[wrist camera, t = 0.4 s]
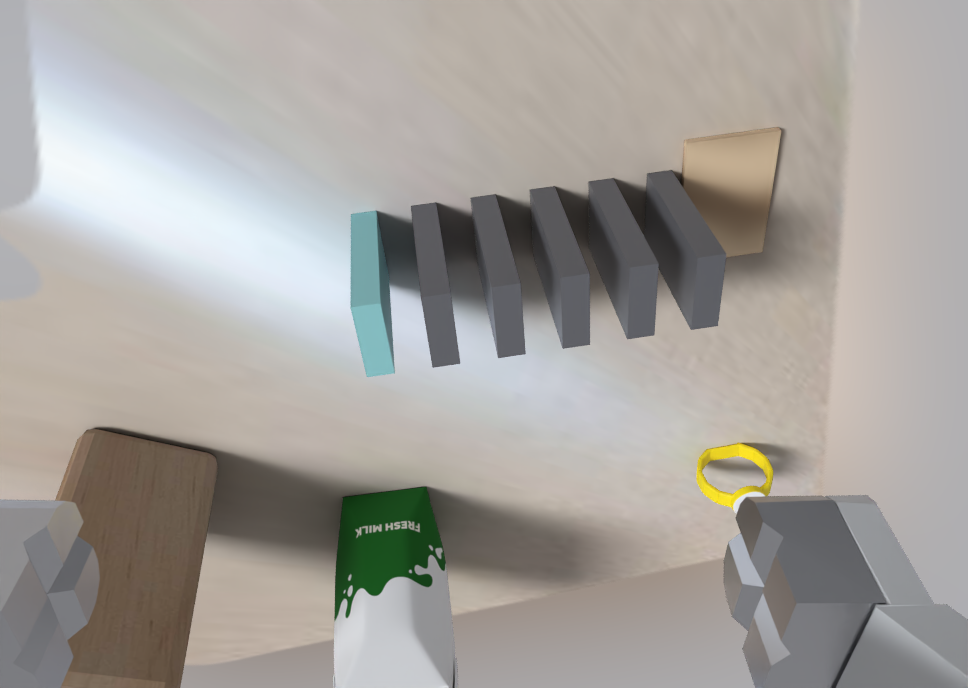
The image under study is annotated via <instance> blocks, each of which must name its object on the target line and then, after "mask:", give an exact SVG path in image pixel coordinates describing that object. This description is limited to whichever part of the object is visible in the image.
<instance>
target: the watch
mask: <svg viewBox="0 0 968 688" xmlns="http://www.w3.org/2000/svg"><path fill="white" fill-rule="evenodd" d="M735 456H740V457H743V458H746V459H749V460H752V461H753V462H755V463H756V464H757V465H758V466H759V467H760V468H762V469H763V471H764V473H765V476H766V478H767V480H766V483H765V484H764V485H762V486H761V487H760V488H759V487H757V486H746V487H743V488H741V489H739V490H737V491H736V492H735V493H734V494H731V493H727V492H722V491H719V490H718V489H716V488H715V487H714V486H712V485H711V484H709V483H708V482H707V480H706V479H705V477H704V475H703V473H702V469H703V468H704V467H705V466H706V465H707V464H708V463H709V461H713V460H718V459H724V458H730V457H735ZM772 480H773V469H772V466H771V464H770V461H769V459H767V457H766V456H765V455H763V454H762V453H761V452H760V451H758V450H757V449H755V448H753V447H750V446H747V445H744V444H741V443H737V444H733V445H728V446H723V447H718V448H712V449H707V450H706V451H705V452H704V453H703V454H702V455H701V456H700V457H699V460H698V466H697V483H698V485H699V487H700V489H701V491H702V492H703V493H704V495H706V496H707V497H708V498H710V499H711V500H713V501H714V502H715V503H718V504H720V505H725V506H729V507H732V509H733V511H734V512H736V513H737V512H738V509H739V506H740V503H741V502H742V501H743V500H744V499H745V498H746V497H763V496H768V494H769V493H770V489H771V485H772Z"/></svg>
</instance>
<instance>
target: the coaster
mask: <svg viewBox="0 0 968 688" xmlns="http://www.w3.org/2000/svg"><path fill="white" fill-rule="evenodd" d="M780 136H781V130H780V129H779V128H778V127H776V128H769V129H761V130H754V131H747V132H739V133H732V134H725V135H717V136H710V137H702V138H695V139H688V140H685V141H684V154H683V168H682V181H681V185H682V187H683V188H684V190H685V191H686V193H687V194H688V196H689V198H690V199H691V201H692V202H693V204H694V205H695V207H696V208H697V210H698V211H699V213H700V214H701V216H702V217H703V219H704V220H705V222H706V223H707V225H708V226H709V228H710V230H711V231H712V233H713V234H714V236H715V237H716V239H717V240H718V242H719V243H720V245H721V246H722V248H723V249H724V251H725V252H726V257H732V256H739V255H746V254H753V253H760V252H763V246H764V239H765V233H766V226H767V220H768V213H769V207H770V200H771V194H772V188H773V181H774V175H775V168H776V162H777V155H778V149H779V142H780Z"/></svg>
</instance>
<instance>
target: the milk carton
mask: <svg viewBox="0 0 968 688" xmlns="http://www.w3.org/2000/svg"><path fill="white" fill-rule="evenodd" d="M455 662H456V663H455ZM334 667H335V668H334V669H335V676H334V675H333V684H334V688H458V669H457V659H456V658H455V644H454V633H453V623H452V614H451V604H450V595H449V586H448V576H447V567H446V562H445V556H444V551H443V546H442V542H441V539H440V535H439V531H438V528H437V524H436V521H435V517H434V514H433V510H432V507H431V503H430V499H429V495H428V492H427V488H426V487H420V488H412V489H404V490H397V491H389V492H381V493H373V494H365V495H357V496H349V497H343V502H342V512H341V521H340V531H339V540H338V550H337V559H336V576H335V623H334Z"/></svg>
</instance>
